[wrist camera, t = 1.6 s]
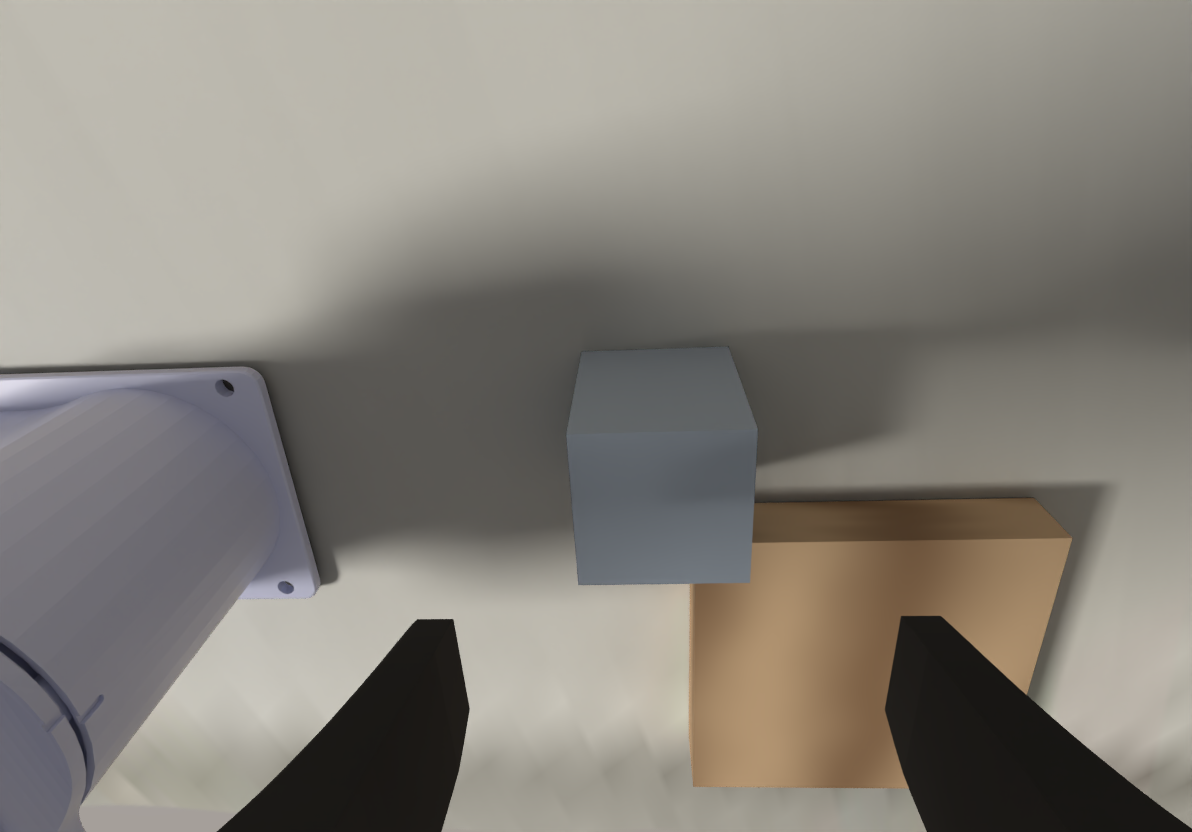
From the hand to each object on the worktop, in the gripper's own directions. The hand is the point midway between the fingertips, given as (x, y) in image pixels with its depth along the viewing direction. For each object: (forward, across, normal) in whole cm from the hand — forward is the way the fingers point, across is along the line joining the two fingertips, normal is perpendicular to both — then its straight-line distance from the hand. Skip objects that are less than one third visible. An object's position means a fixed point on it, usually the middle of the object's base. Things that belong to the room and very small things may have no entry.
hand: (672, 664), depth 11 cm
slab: (+9, -6, +8) cm, 14 cm away
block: (+10, 0, 0) cm, 10 cm away
